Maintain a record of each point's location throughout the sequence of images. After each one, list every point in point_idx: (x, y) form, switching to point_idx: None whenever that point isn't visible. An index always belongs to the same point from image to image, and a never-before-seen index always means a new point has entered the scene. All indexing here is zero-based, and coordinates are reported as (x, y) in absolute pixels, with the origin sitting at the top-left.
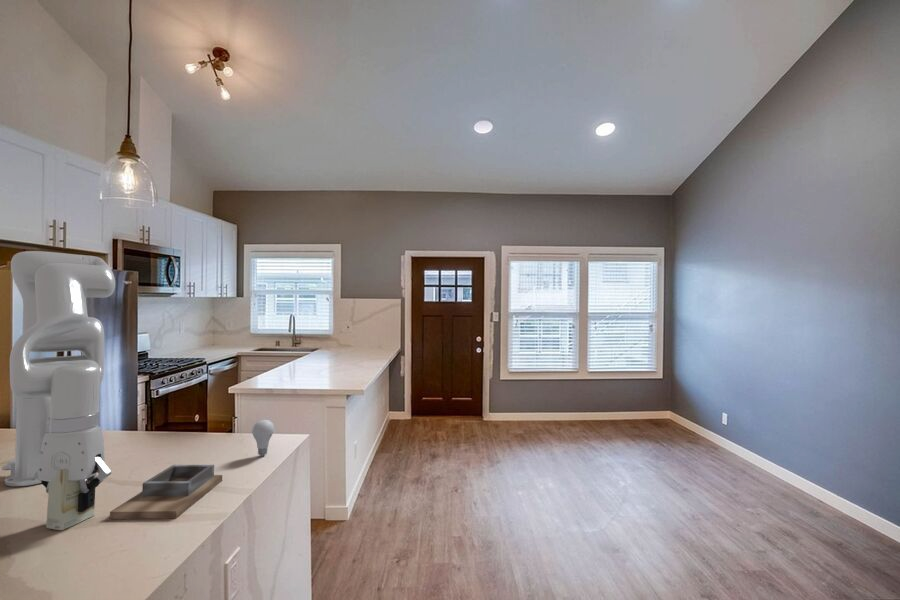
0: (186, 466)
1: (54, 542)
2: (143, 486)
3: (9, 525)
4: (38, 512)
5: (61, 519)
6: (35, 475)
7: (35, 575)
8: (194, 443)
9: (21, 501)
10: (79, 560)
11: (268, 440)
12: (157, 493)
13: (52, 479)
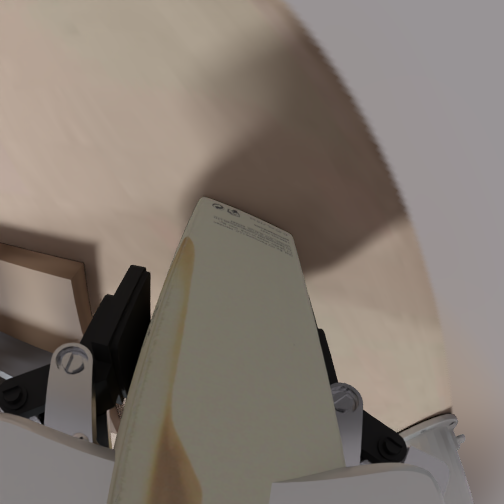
0: None
1: (165, 98)
2: None
3: (426, 284)
4: (378, 345)
5: (197, 219)
6: (444, 469)
7: None
8: None
9: (428, 384)
10: (17, 4)
11: None
12: (25, 350)
13: (305, 491)
